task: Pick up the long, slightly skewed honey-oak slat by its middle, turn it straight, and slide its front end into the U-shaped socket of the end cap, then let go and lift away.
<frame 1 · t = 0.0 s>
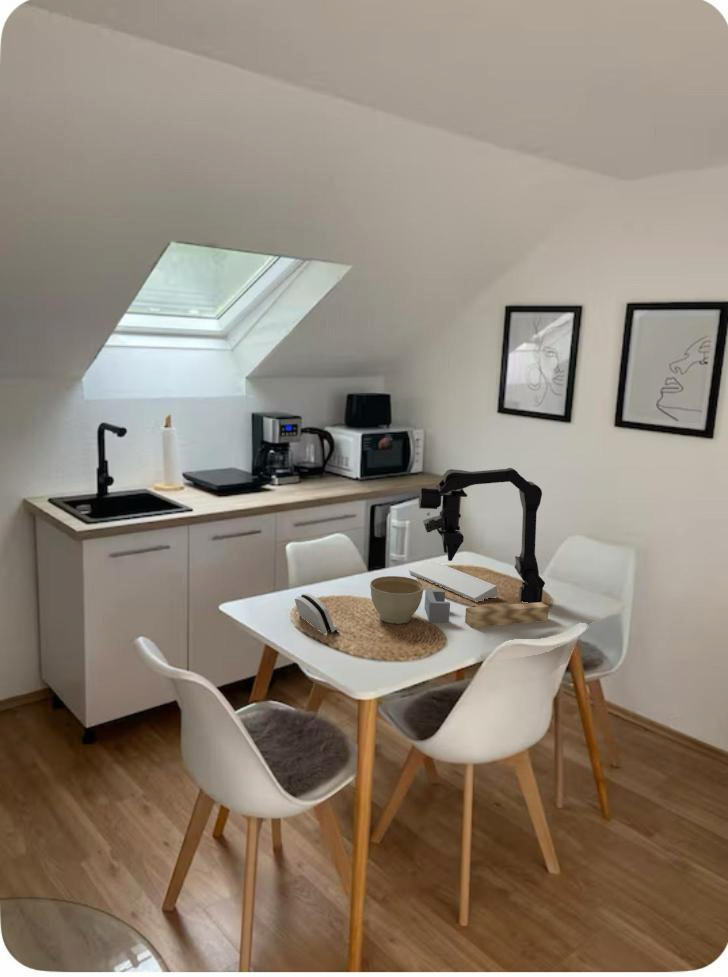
hand: (447, 556, 242), 15 cm above the table, tool pointing down, fingers open, 9 cm apart
hinge: (314, 626, 219), on the table
oak slat: (506, 622, 228), on the table
planter bowl: (395, 619, 227), on the table
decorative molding: (451, 587, 260), on the table
end cap: (436, 615, 231), on the table
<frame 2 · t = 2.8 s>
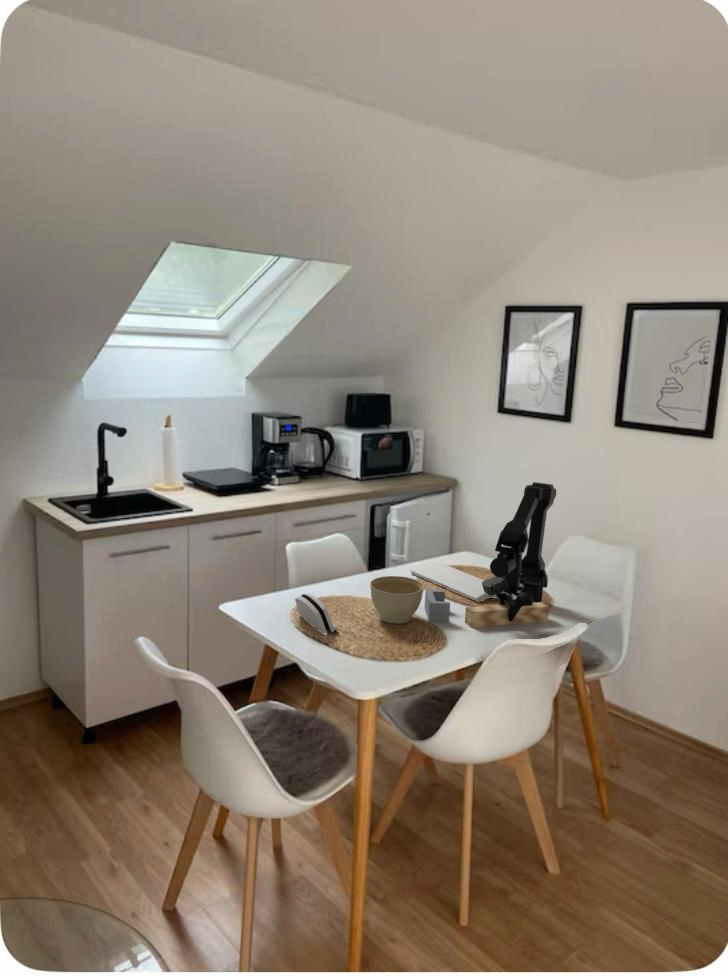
hand: (507, 618, 228), 1 cm above the table, tool pointing down, fingers closed on oak slat, 4 cm apart
oak slat: (506, 622, 228), on the table, touching gripper
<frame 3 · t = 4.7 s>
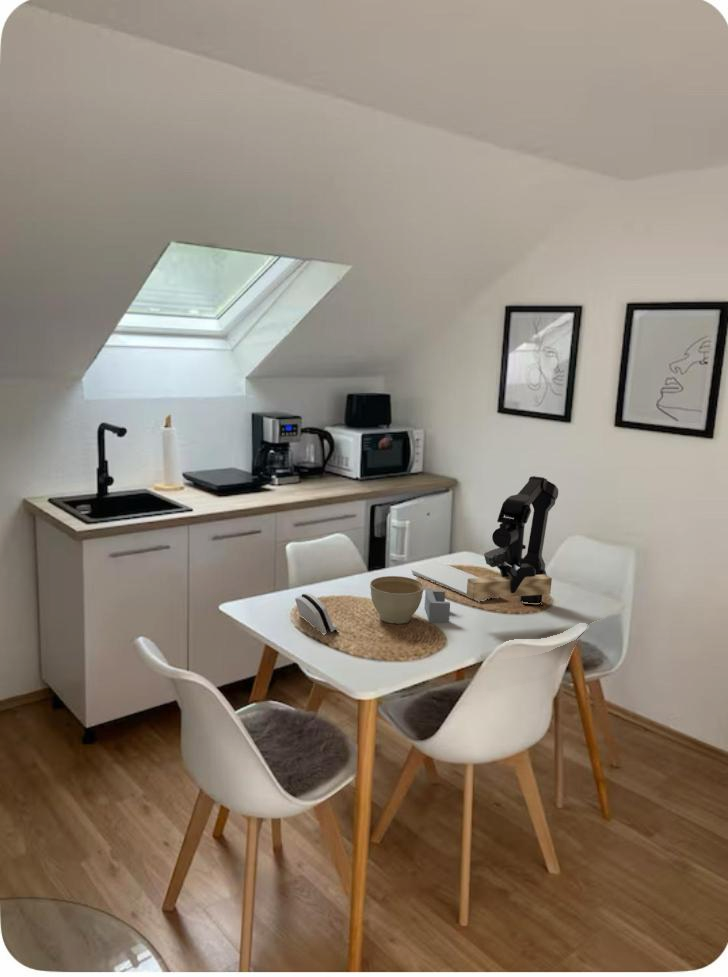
hand: (509, 590, 226), 10 cm above the table, tool pointing down, fingers closed on oak slat, 4 cm apart
oak slat: (508, 594, 226), point 9 cm above the table, touching gripper
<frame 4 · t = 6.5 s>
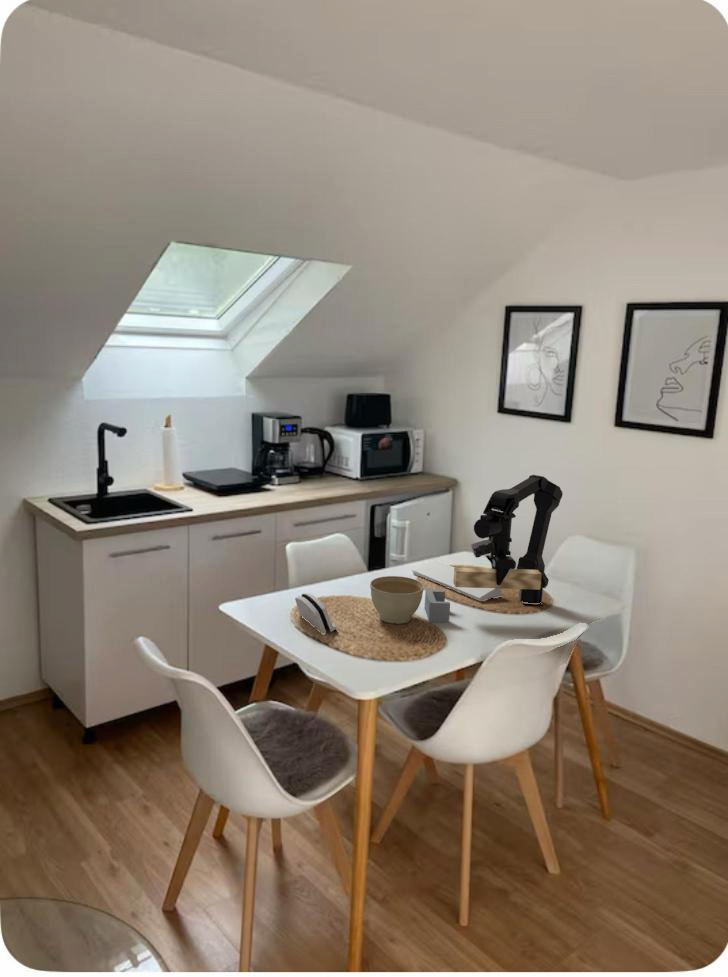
hand: (497, 582, 230), 11 cm above the table, tool pointing down, fingers closed on oak slat, 4 cm apart
oak slat: (496, 586, 230), point 10 cm above the table, touching gripper
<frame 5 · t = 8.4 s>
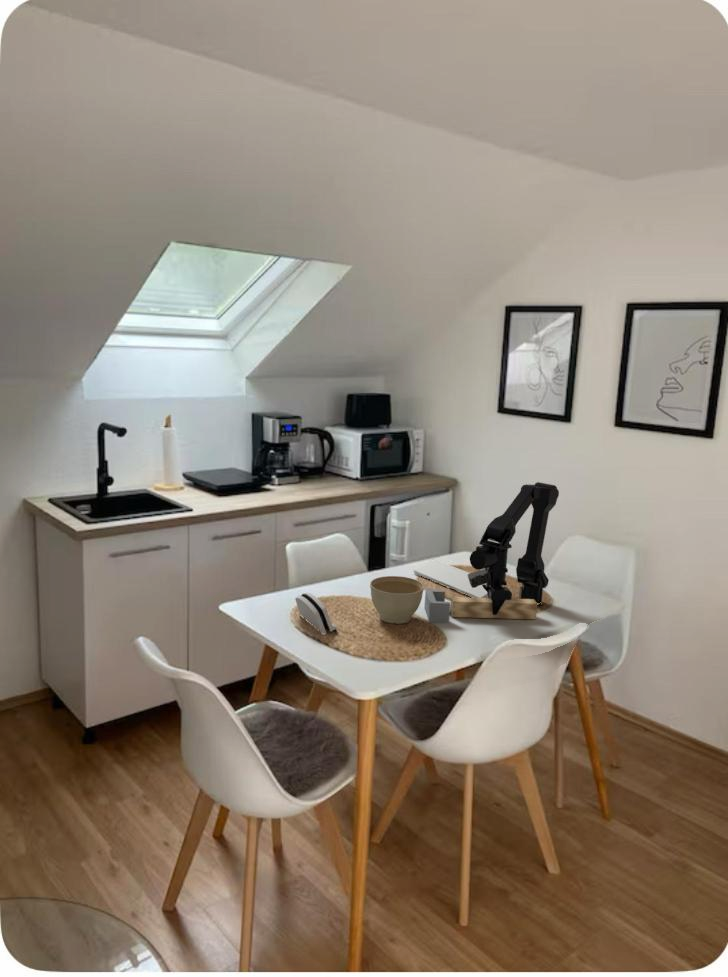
hand: (493, 612, 232), 1 cm above the table, tool pointing down, fingers closed on oak slat, 4 cm apart
oak slat: (492, 615, 232), on the table, touching gripper
when the fingers open (1 cm above the table, at t = 10.1 s): oak slat stays where it is, on the table.
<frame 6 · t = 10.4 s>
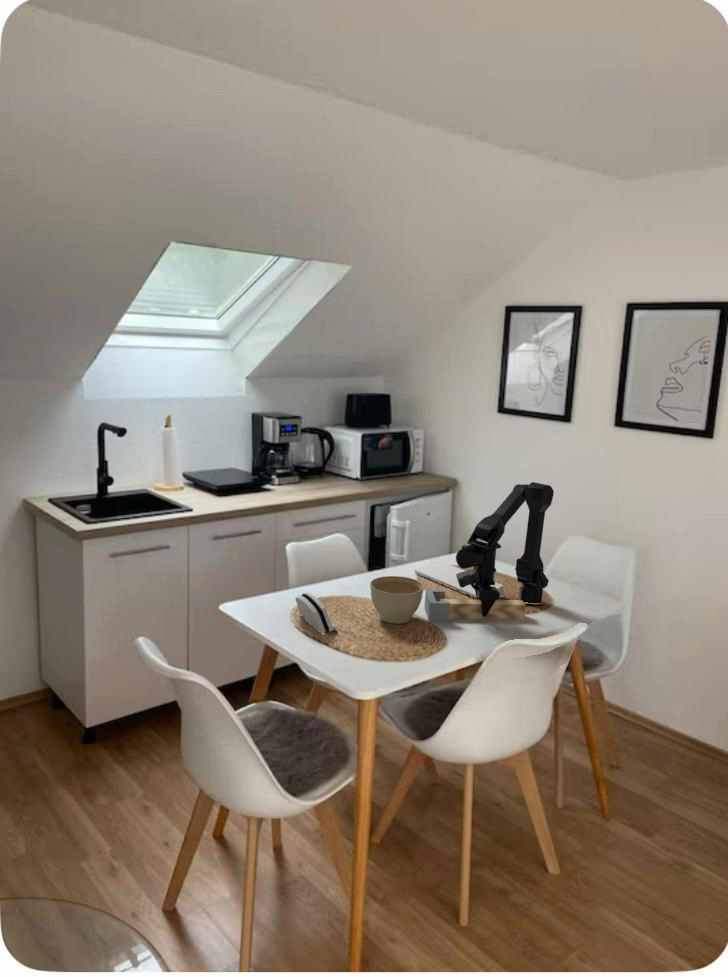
hand: (481, 611, 232), 1 cm above the table, tool pointing down, fingers open, 7 cm apart
oak slat: (481, 617, 232), on the table
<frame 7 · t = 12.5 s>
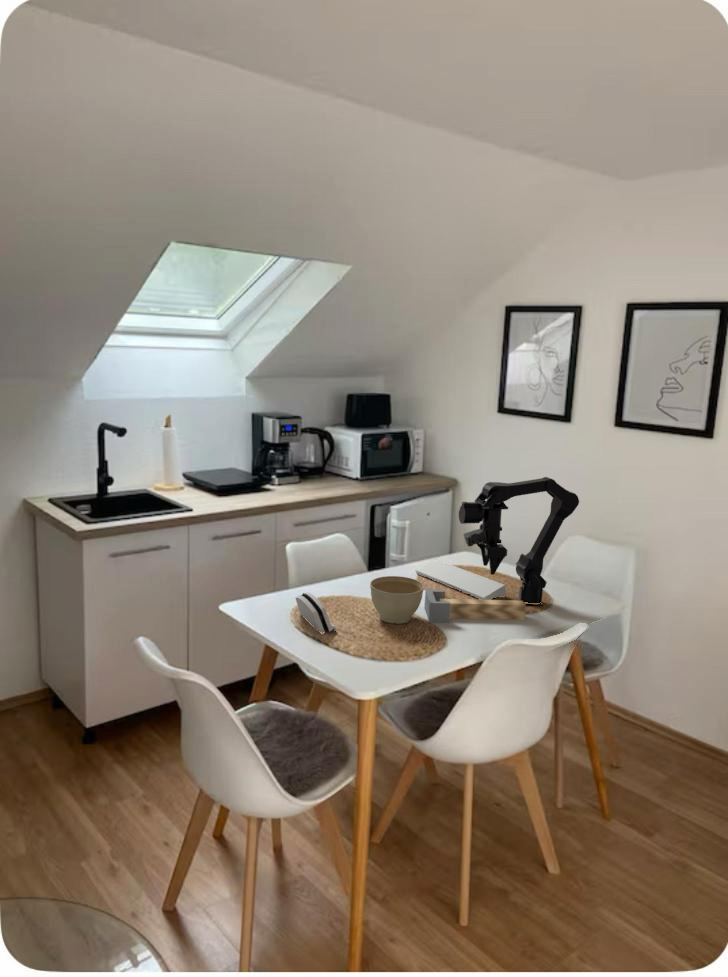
hand: (488, 569, 241), 11 cm above the table, tool pointing down, fingers open, 9 cm apart
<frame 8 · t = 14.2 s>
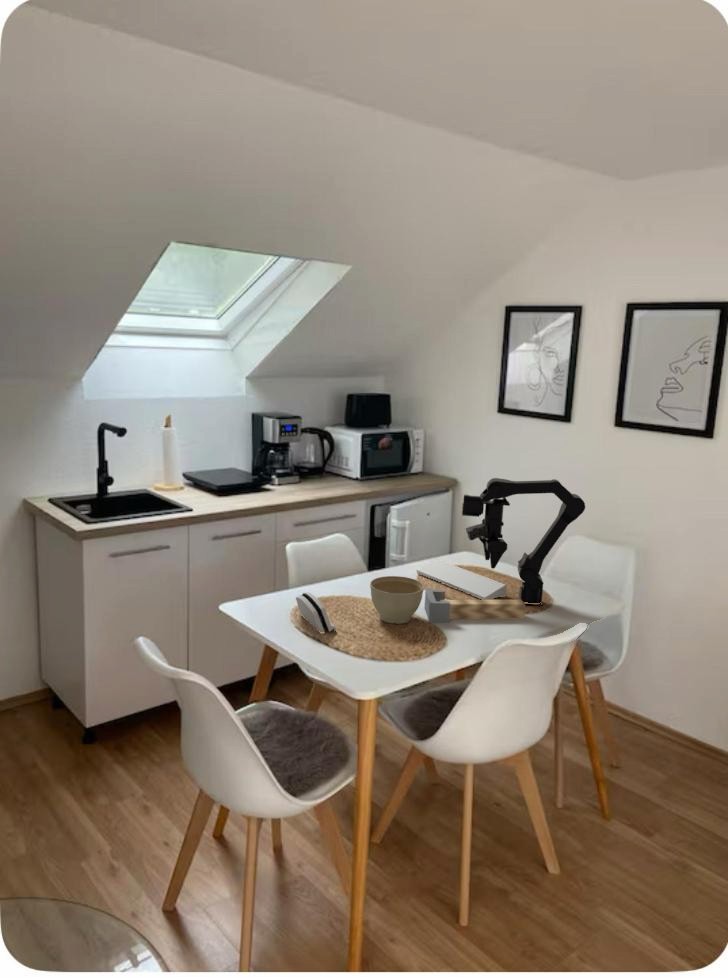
hand: (489, 564, 245), 12 cm above the table, tool pointing down, fingers open, 9 cm apart
at the end: oak slat 0.5 cm from the target spot on the table beside the end cap, on the table; the gripper is holding nothing; oak slat tilted 0° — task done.
